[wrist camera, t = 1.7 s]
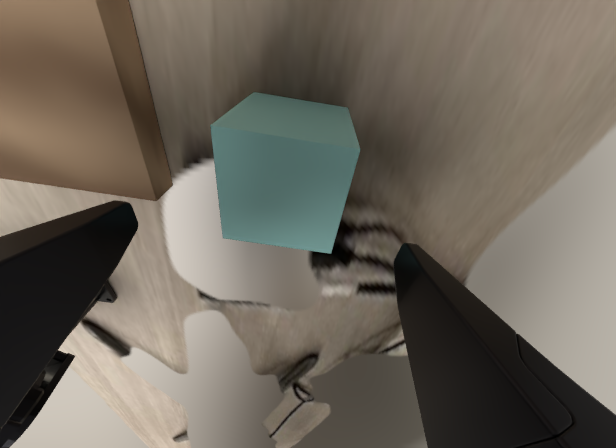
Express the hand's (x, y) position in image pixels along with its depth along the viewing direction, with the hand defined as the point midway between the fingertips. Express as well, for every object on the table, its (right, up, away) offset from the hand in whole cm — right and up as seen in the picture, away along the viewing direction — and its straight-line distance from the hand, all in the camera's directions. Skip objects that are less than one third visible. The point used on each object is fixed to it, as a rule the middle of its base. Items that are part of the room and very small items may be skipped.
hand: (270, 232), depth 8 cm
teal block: (+1, +5, +6) cm, 8 cm away
